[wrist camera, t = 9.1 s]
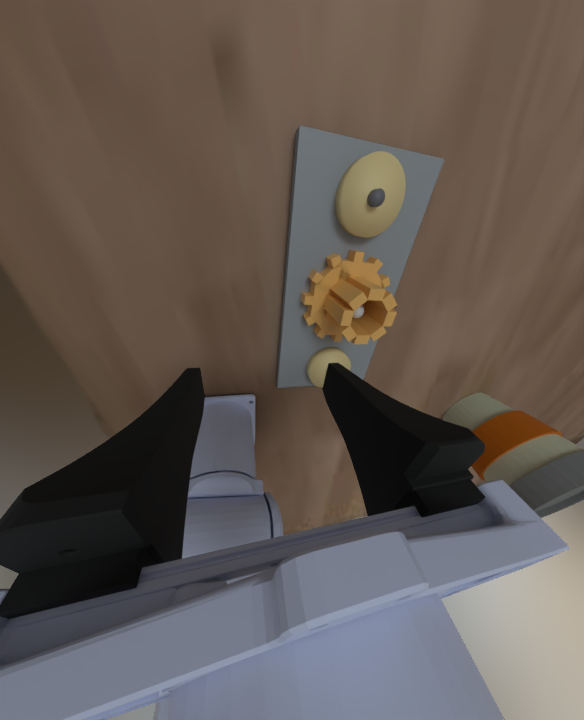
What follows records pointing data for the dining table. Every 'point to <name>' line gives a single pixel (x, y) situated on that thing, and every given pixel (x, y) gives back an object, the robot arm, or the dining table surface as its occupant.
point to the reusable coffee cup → (522, 453)
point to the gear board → (345, 235)
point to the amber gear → (349, 299)
